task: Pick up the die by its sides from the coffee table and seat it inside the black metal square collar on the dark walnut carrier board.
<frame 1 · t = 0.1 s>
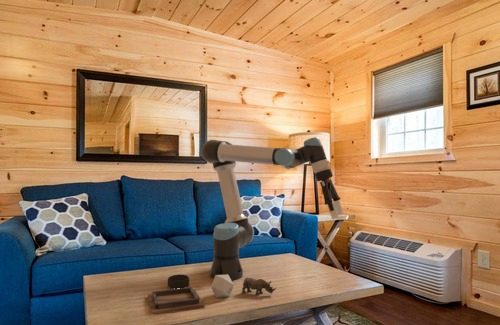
hand: (338, 216, 155), 28 cm above the table, tool tilted 20°, fingers open, 13 cm apart
smart speaker: (178, 287, 147), on the table
die: (222, 296, 135), on the table
carrier board: (174, 302, 129), on the table
rhino figurine: (259, 294, 137), on the table
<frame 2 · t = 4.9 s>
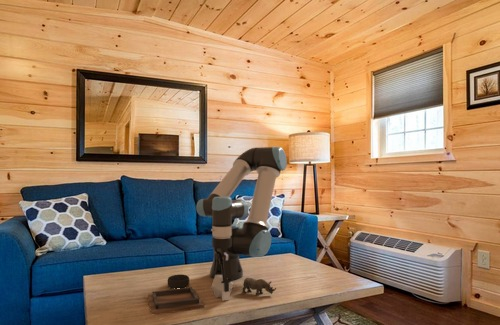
hand: (222, 295, 135), 0 cm above the table, tool pointing down, fingers open, 9 cm apart
die: (222, 296, 135), on the table, touching gripper
everything else where it was.
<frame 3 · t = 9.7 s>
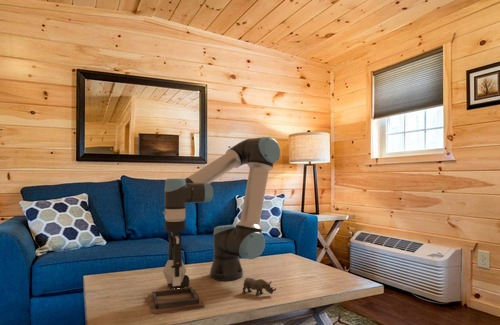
hand: (174, 281, 129), 8 cm above the table, tool pointing down, fingers closed on die, 9 cm apart
die: (174, 282, 129), point 7 cm above the table, touching gripper
everything else where it was.
when the fingers open (4 cm above the table, at t = 11.3 s): die drops 3 cm, resting on carrier board.
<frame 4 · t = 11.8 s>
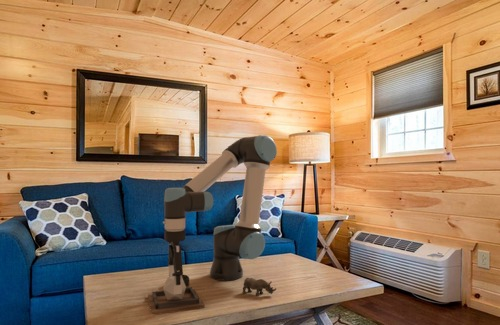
hand: (174, 287, 129), 5 cm above the table, tool pointing down, fingers open, 13 cm apart
die: (174, 299, 129), point 1 cm above the table, touching carrier board
everything else where it was.
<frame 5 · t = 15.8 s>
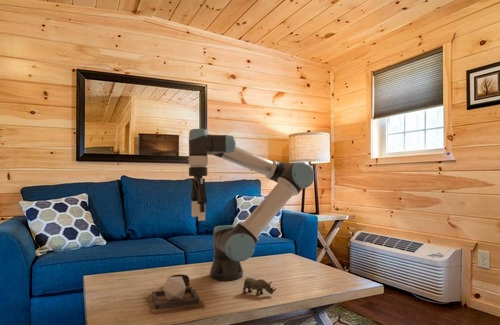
hand: (198, 218, 144), 29 cm above the table, tool pointing down, fingers open, 13 cm apart
nothing on the table moved.
at the end: die 0.5 cm off-centre on the carrier board, point 0.8 cm above the carrier board's base; die tilted 0°; the gripper is holding nothing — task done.
